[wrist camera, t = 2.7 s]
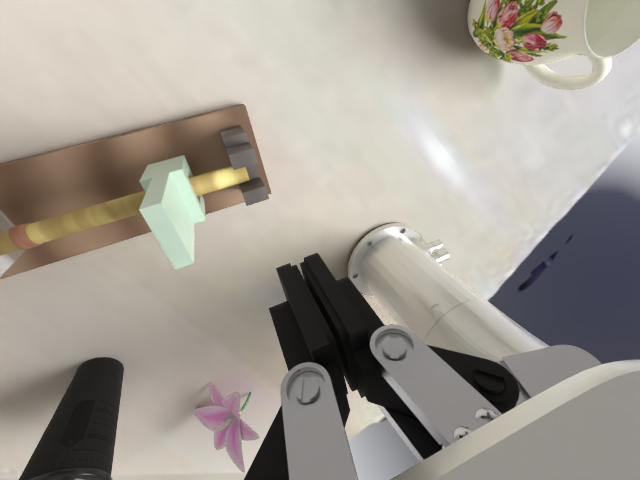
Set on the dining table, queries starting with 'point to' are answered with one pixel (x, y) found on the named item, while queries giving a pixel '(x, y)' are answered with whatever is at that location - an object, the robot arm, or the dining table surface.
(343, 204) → the dining table surface
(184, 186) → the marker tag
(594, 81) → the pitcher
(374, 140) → the dining table surface
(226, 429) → the lily
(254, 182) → the wooden rod slider stand
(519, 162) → the dining table surface
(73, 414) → the drinking cup
